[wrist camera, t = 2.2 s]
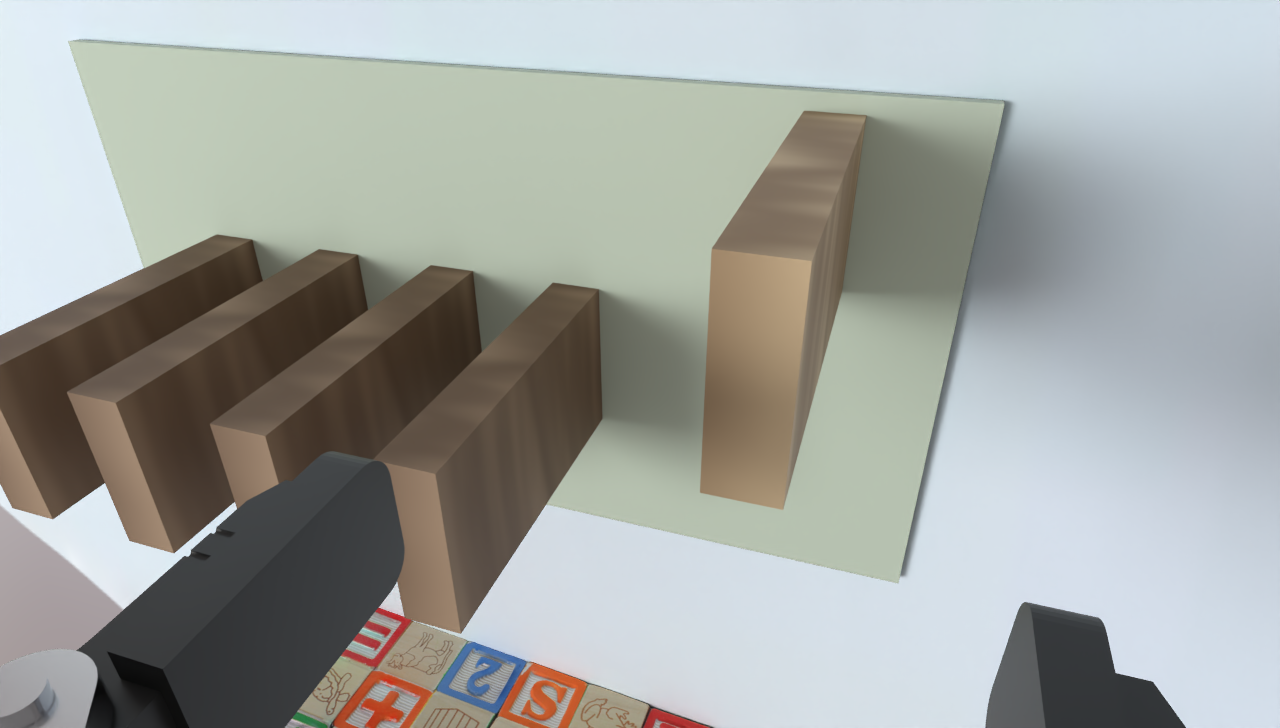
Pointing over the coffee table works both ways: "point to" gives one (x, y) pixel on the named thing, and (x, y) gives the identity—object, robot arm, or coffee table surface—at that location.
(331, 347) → the domino
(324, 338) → the domino
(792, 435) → the domino
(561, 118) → the mat
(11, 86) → the coffee table surface
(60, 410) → the domino
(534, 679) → the stack of blocks
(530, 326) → the domino
